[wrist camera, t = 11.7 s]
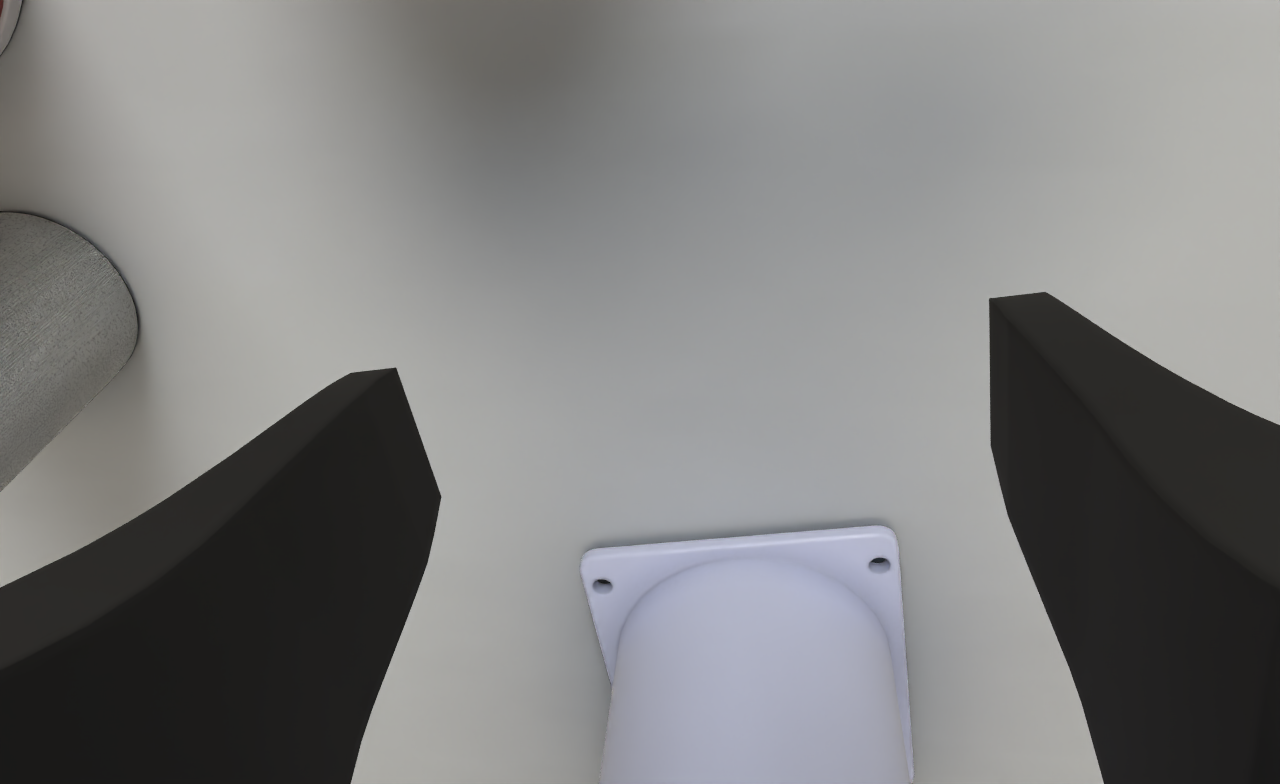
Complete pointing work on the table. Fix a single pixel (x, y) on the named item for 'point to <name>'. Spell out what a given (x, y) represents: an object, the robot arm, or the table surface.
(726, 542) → the robot arm
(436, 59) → the table surface
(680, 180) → the table surface
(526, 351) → the table surface
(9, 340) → the planter
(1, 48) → the tall can
